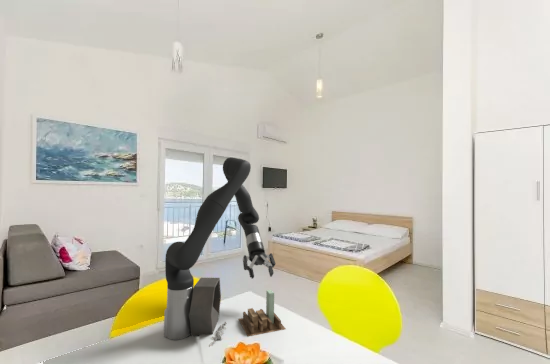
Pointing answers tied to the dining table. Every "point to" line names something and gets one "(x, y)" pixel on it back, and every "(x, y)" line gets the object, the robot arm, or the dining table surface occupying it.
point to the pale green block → (270, 305)
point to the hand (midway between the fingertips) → (262, 276)
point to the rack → (260, 325)
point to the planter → (205, 306)
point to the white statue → (219, 333)
